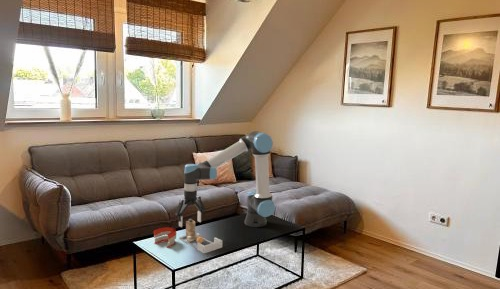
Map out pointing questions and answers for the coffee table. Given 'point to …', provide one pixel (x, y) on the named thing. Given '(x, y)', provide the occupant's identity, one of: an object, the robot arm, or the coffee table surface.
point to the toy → (165, 231)
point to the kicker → (191, 231)
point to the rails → (190, 243)
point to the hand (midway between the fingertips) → (190, 223)
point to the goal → (210, 246)
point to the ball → (199, 240)
